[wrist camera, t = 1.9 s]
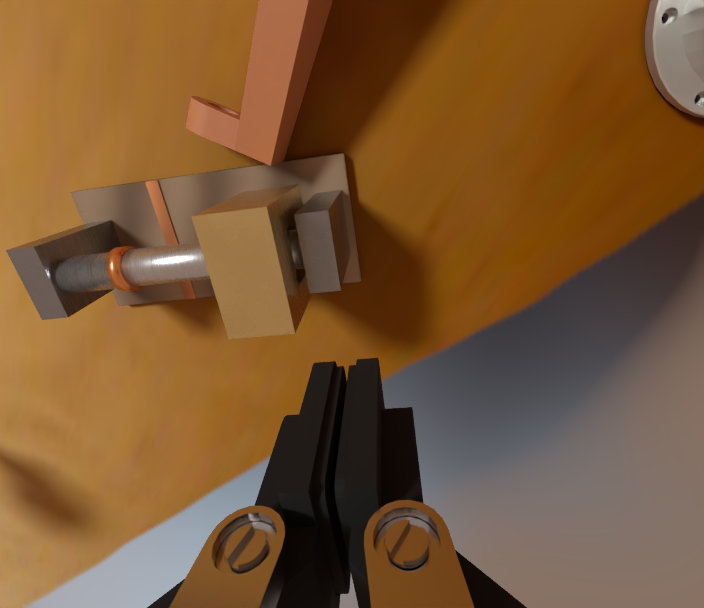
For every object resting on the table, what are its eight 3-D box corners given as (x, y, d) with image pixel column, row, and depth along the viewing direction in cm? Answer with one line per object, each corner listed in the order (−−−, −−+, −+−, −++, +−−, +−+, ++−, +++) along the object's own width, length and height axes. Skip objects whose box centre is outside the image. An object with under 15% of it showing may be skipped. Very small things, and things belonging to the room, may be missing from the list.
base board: (344, 152, 29) (343, 153, 28) (361, 278, 33) (360, 282, 32) (77, 190, 32) (69, 192, 31) (123, 302, 36) (117, 306, 35)
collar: (299, 183, 27) (266, 206, 19) (317, 281, 30) (295, 333, 22) (244, 191, 27) (191, 216, 20) (267, 286, 30) (228, 339, 23)
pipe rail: (342, 188, 30) (328, 210, 22) (351, 250, 32) (340, 290, 24) (95, 220, 32) (6, 250, 25) (118, 276, 35) (42, 319, 27)
